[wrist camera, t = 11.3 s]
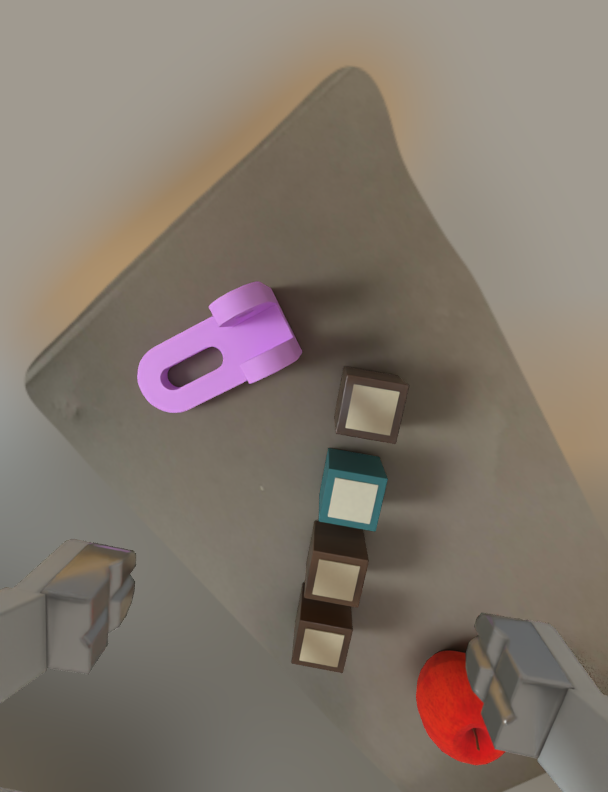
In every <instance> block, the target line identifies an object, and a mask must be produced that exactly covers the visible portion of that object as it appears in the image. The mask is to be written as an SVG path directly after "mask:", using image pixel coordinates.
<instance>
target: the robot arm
mask: <svg viewBox="0 0 608 792" xmlns="http://www.w3.org/2000/svg"><path fill="white" fill-rule="evenodd" d="M135 566H136V553H135V552H134V551H133V550H128V549H123V548H118V547H113V546H108V545H103V544H98V543H91V542H86V541H81V540H77V539H70V540H67V541H65V542H64V543H63V544H62V545H61V546H60V547H58V548H57V549H56V550H55V551H54V552H53V553H52V554H51V555H49V556H48V558H46V559H45V560H44V561H43V562H42V563H40V564H39V565H38V566H37V567H36V568H35V569H34V570H33V571H32V572H30V573H29V574H28V575H27V576H26V577H25V578H24V579H23V580H21V581H20V582H19V583H18V584H17V585H16V586H15V587H14V588H8V587H5V588H2V589H0V703H2V702H3V701H5V700H6V699H7V698H9V697H10V696H12V695H13V694H14V693H16V692H17V691H19V690H20V689H22V688H23V687H24V686H26V685H27V684H29V683H30V682H31V681H33V680H34V679H35V678H37V677H38V676H40V675H41V674H43V673H44V672H45V671H46V670H47V668H50V669H56V670H63V671H70V672H77V673H84V674H89V673H90V671H91V670H92V668H93V666H94V665H95V663H96V662H97V660H98V659H99V657H100V656H101V654H102V653H103V651H104V650H105V648H106V647H107V645H108V633H110V632H111V631H113V630H115V629H116V628H118V627H119V626H120V625H121V623H122V621H123V620H124V618H125V617H126V615H127V612H128V610H129V608H130V605H131V603H132V599H133V595H134V589H135V581H134V579H133V578H132V577H131V575H130V573H131V572H132V571H133V569H134V568H135ZM474 627H475V629H476V631H477V633H478V635H477V636H476V637H475V638H473V639H472V640H471V641H469V643H468V647H467V650H466V672H467V677H468V681H469V683H470V686H471V689H472V691H473V692H474V693H475V694H476V695H477V697H478V698H479V699H480V700H481V701H482V702H483V707H482V710H481V715H482V718H483V720H484V723H485V725H486V728H487V731H488V733H489V736H490V738H491V741H492V744H493V746H494V749H496V750H501V751H506V752H510V753H515V754H519V755H524V756H529V757H533V758H538V762H539V764H540V765H541V766H542V767H543V768H544V770H545V771H546V772H547V773H548V775H549V776H550V777H551V778H552V779H553V781H554V782H555V783H556V784H557V786H558V787H559V788H560V789H561V791H562V792H608V696H607V695H603V694H602V693H601V691H600V690H599V689H598V687H597V686H596V684H595V683H594V682H593V680H592V679H591V677H590V676H589V675H588V673H587V672H586V671H585V669H584V668H583V666H582V665H581V664H580V662H579V661H578V659H577V658H576V657H575V655H574V654H573V652H572V651H571V650H570V648H569V647H568V645H567V644H566V643H565V641H564V640H563V639H562V637H561V636H560V634H559V633H558V632H557V630H556V629H555V628H554V627H553V626H552V625H550V624H549V623H545V622H538V621H532V620H522V619H517V618H511V617H505V616H499V615H493V614H487V613H481V614H480V615H479V616H478V617H477V619H476V622H475V625H474ZM0 792H23V791H18V790H12V789H7V788H2V787H0Z"/></svg>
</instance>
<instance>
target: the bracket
mask: <svg viewBox="0 0 608 792" xmlns="http://www.w3.org/2000/svg"><path fill="white" fill-rule="evenodd" d="M209 309H210V310H211V312H212V314H213V316H212V317H210V318H208V319H206V320H204V321H202V322H201V323H199V324H197V325H195V326H193V327H191V328H189V329H187V330H185V331H184V332H182V333H180V334H178V335H176V336H174V337H172V338H170V339H169V340H167V341H165V342H163V343H161V344H159V345H157V346H155V347H154V348H152V349H150V350H149V351H148V352H147V353H146V354H145V355H144V356H143V358H142V359H141V361H140V364H139V367H138V383H139V387H140V389H141V392H142V393H143V395H144V397H145V398H146V399H147V400H148V401H149V402H150V403H151V404H152V405H153V406H155V407H156V408H158V409H160V410H163V411H166V412H171V413H178V412H183V411H186V410H189V409H191V408H193V407H195V406H197V405H199V404H201V403H203V402H205V401H207V400H209V399H211V398H213V397H215V396H217V395H219V394H221V393H223V392H225V391H227V390H229V389H231V388H233V387H235V386H237V385H239V384H241V383H243V382H245V381H247V380H248V382H249V384H251V383H253V382H256V381H258V380H260V379H263V378H265V377H267V376H269V375H271V374H273V373H275V372H277V371H279V370H281V369H283V368H284V367H286V366H288V365H290V364H291V363H293V362H295V361H296V360H298V358H299V357H300V355H301V354H302V350H301V348H300V346H299V344H298V342H297V340H296V338H295V336H294V334H293V332H292V330H291V328H290V326H289V324H288V322H287V320H286V317H285V315H284V313H283V311H282V309H281V307H280V305H279V303H278V301H277V299H276V297H275V295H274V293H273V291H272V289H271V288H270V287H268V286H266V285H265V284H263V283H261V282H258V281H257V282H252V283H249V284H246V285H244V286H241V287H239V288H237V289H235V290H233V291H231V292H229V293H227V294H225V295H223V296H222V297H220V298H218V299H217V300H215V301H214V302H213V303H211V304H210V306H209ZM211 346H212V347H216V348H218V349H219V350H220V351H221V353H222V355H223V363H222V365H221V366H220V367H219V368H218V369H216V370H214V371H212V372H210V373H208V374H206V375H204V376H202V377H200V378H198V379H196V380H195V381H193V382H191V383H189V384H187V385H185V386H183V387H176V386H174V385H172V384H171V383H170V382H169V380H168V371H169V369H170V368H171V367H172V366H174V365H176V364H178V363H180V362H182V361H184V360H186V359H188V358H190V357H192V356H193V355H195V354H197V353H199V352H201V351H203V350H205V349H207V348H209V347H211Z"/></svg>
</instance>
